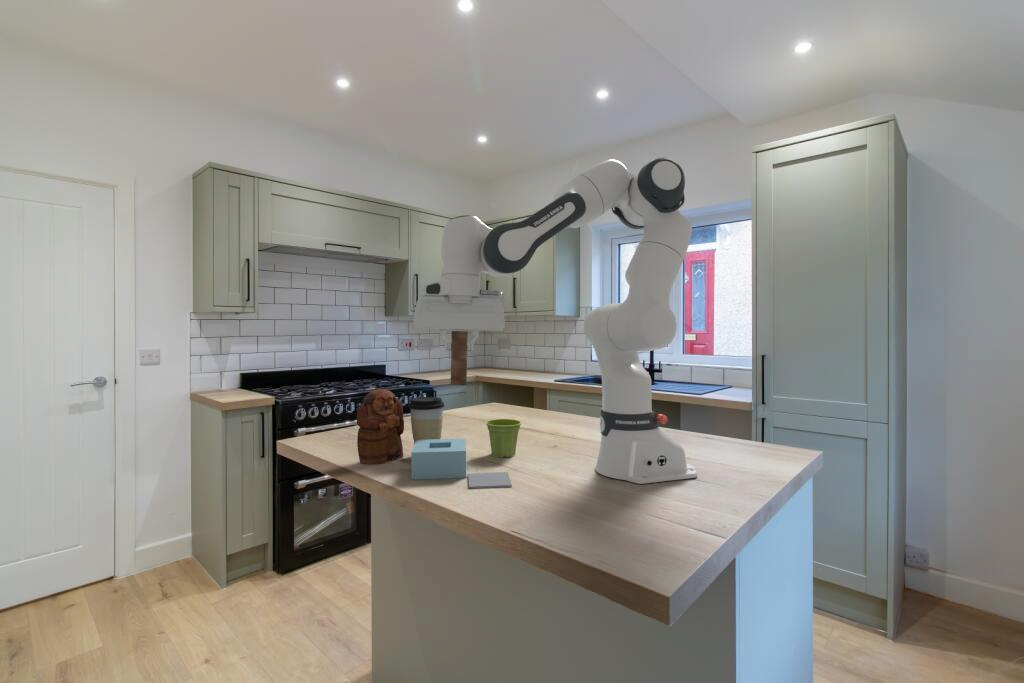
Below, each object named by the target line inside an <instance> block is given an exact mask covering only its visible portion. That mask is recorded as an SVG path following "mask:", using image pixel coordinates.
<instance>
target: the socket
mask: <svg viewBox="0 0 1024 683" xmlns="http://www.w3.org/2000/svg"><path fill="white" fill-rule="evenodd" d="M466 439H467V438H440V439H428V440H416V442H415V445H414V444H413V448H412V450H411V452H410V453H411V454H410V455H411V480H431V479H434V480H436V479H438V480H439V479H460V478H461V479H463V478H467V445H466V444H467V443H466Z"/></svg>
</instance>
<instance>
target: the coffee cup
mask: <svg viewBox="0 0 1024 683" xmlns="http://www.w3.org/2000/svg"><path fill="white" fill-rule="evenodd" d="M407 405H408V406H407V409H409V410H410V425H411V433H412V440H413V443H414V444H413V446H414V445H415V442H416V440H428V439H442V431H443V429H442V428H443V418H444V416H443V413H444V408H445V407H446V405H445V402H443V400H442V398H441V397H438V396H421V397H419V396H418V397H413V398H411V399H410V402H409V403H408V404H407Z"/></svg>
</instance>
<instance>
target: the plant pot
mask: <svg viewBox="0 0 1024 683" xmlns="http://www.w3.org/2000/svg"><path fill="white" fill-rule="evenodd" d="M485 425H486V426H487V430H488V435H489V441H490V448H491V450H490V451H491V455H492V456H493V457H496V458H497V457H498V458H503V457H506V458H510V457H514V456H515V455H516V451H517V444H518V436H519V430H520V429H521V428H520V427H521V425H522V420H517V419H512V418H497V419H496V418H494V419H489V420H486V421H485Z"/></svg>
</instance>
